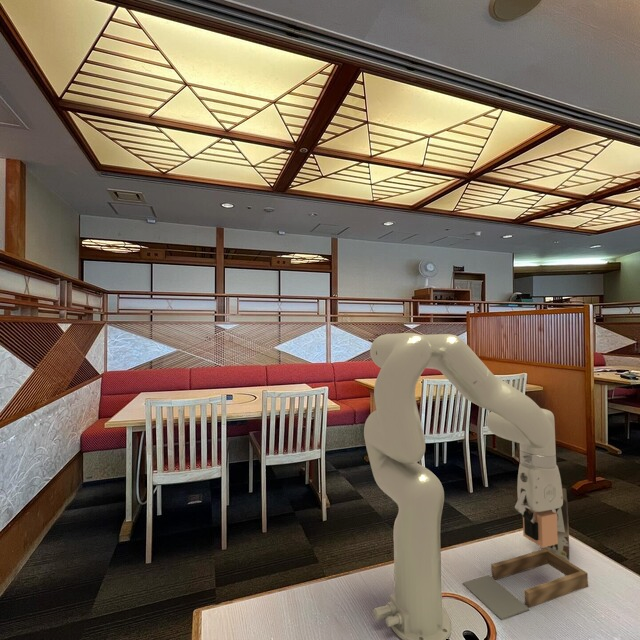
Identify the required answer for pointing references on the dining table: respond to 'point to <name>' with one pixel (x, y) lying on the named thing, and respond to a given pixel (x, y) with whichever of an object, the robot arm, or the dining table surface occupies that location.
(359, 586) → the dining table surface
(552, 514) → the block
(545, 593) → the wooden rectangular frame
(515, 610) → the mat
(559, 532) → the coffee box
